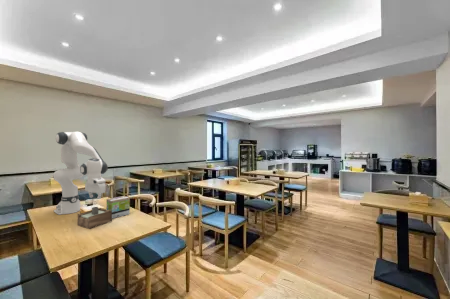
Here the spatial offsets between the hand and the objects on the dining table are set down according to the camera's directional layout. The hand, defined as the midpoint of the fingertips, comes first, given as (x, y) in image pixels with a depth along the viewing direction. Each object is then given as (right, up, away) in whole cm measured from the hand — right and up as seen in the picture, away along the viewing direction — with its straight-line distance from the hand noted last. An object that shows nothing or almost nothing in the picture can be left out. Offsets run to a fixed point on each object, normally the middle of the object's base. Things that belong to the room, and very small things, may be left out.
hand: (95, 198), depth 152 cm
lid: (0, -13, 0) cm, 13 cm away
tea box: (+8, -19, +18) cm, 27 cm away
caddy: (0, -19, +1) cm, 19 cm away
